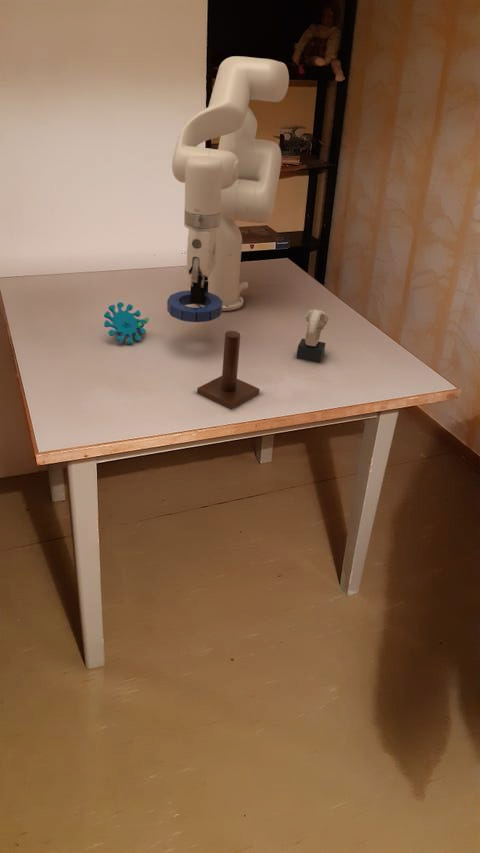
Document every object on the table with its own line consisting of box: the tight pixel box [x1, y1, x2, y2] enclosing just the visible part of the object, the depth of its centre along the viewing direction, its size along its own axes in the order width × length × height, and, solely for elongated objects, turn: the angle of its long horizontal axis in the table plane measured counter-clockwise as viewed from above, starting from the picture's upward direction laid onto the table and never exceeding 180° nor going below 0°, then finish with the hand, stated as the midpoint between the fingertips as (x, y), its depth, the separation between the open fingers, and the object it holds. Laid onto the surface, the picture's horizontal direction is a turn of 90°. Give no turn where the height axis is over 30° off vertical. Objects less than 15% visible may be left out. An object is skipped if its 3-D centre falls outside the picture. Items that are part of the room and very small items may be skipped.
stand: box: [196, 330, 261, 410], centre depth 132 cm, size 9×9×13 cm
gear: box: [103, 301, 150, 345], centre depth 154 cm, size 11×6×10 cm
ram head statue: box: [296, 309, 329, 364], centre depth 150 cm, size 6×8×11 cm
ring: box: [166, 289, 223, 323], centre depth 148 cm, size 12×12×2 cm
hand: (199, 299), depth 152 cm, fingers closed on ring, 2 cm apart
